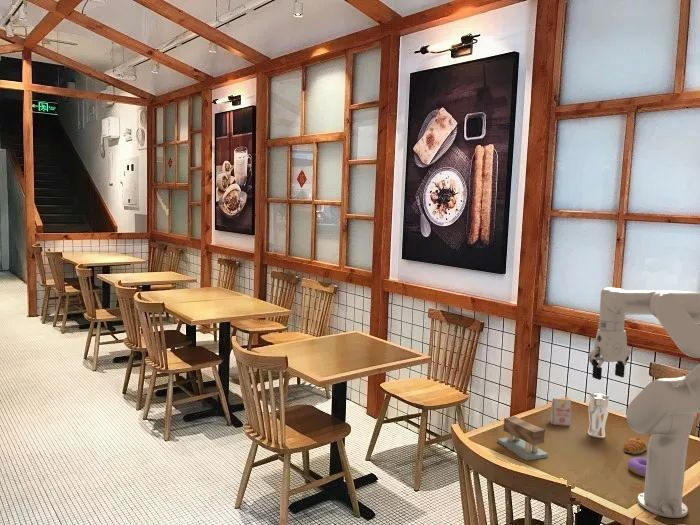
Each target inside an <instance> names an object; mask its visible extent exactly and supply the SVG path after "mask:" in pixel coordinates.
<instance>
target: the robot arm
mask: <svg viewBox="0 0 700 525" xmlns="http://www.w3.org/2000/svg"><path fill="white" fill-rule="evenodd" d="M628 315H629V316H631V315H635V316H637V315H642V316H643V315H644V316H645V315H646V316H648V315H649V316H650V315H651V316H654V317H655V318H656V319H657V320H658V322H659V323H660V324H661V327H662V328H663V329H664V331H665V332H666V333H667V334H668V336H669V337H670V339H671V340H672V341H673V343H674V344H675V345H676V347H677V348H678V349H679V350H680V351H681V352H682V353H683V354H685V356H688V357H691V358H694V359H700V292H699V291H687V290H686V291H685V290H684V291H683V290H665V289H664V290H625V289H622V288H619V287H604V288H602V289H601V291H600V302H599V319H598V323H597V326H598V329H597V331H596V334H595V335H596V336H595V340H594V346H593V347H594V349H592V350H591V351H590V352H588V353H587V357H588V361H589V362H590V364H591V367H592V378H593V379H594V380H595V379H596V380H599V381H601V380H602V375H603V374H602V372H603V367H601V366H602V365H603V364H604V362H605V363H613V362H614V363H615V362H616V363H615V368H614V369H615V370H614V375H615V376H616V377H619V378H625V370H626V369H625V368H626V366H627V364H628V363H627V362H629V360H630V356H631V354H632V351H631V350H629V349H628V338H627V337H628V336H627V331H626V330H625V322H626V321H625V318H626V316H628ZM699 413H700V363H699V364H697V365H696V366H695V367H694V368H693V369H692V370H691V371H690V372H689V373H688V374H686V375H684V376H679V377H666V378H664V377H663V378H657V379H655V380H652V381H651V382H649V383H648V384H647V385H646V386H645V387H644V388H643V389H642V390H641V391H640V392H639V393H638V394H637V395H635V397H634V398H633V399H632V400H631V401H630V403H629V405H628V407H627V408H626V415H625V418H626V422H627V424H628V427H629V428H630V429H631V430H632V431H633V432H635V433H637V434H639V435H644V436H645V435H648V436H649V435H651V436H650V437H649V441H648V444H647V455H646V458H647V464H646V476H645V477H644V490H643V492H641V493H639V494H638V495H637V498H636V499H637V500H636V501H637V503H638V504H640V505H641V506H643V507H644V508H646V509H647V510H649V511H650V513H651V512H652V514H654V515H657V516H660V517H665V518H671V519H678V518H679V519H680V518H684V517H686V516H687V515H688V510H689V509H688V506H687V505H686V504H685V503H684V502H683V494H684V493H683V492H684V482H685V470H686V460H687V451H688V443H689V439H690V435H691V432H692V429H693V426H694V422H695V415H694V414H699ZM640 505H639V506H640ZM641 506H640V507H641ZM643 507H642V508H643ZM644 508H643V509H644ZM647 510H646V511H647ZM649 511H648V512H649Z"/></svg>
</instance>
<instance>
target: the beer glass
mask: <svg viewBox="0 0 700 525" xmlns="http://www.w3.org/2000/svg"><path fill="white" fill-rule="evenodd" d="M609 400H610V398H609V396H608V395H606V394H603V393H595V392H594V393H590V394H589V399H588V418H589V427H588V430H587V435H588V436H591V437H593V438H599V439H604V438H605V437H606V431H605V430H606V428H605V427H606V422H607V419H608V415H609V410H610V401H609Z"/></svg>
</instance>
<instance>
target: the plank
mask: <svg viewBox="0 0 700 525" xmlns="http://www.w3.org/2000/svg"><path fill="white" fill-rule="evenodd" d="M502 430H503V432H506V433H507V434H508V433H509V434H512V435H514V436H516V437H518V438H520V439H522V440H524V441H526V442H528V443H530V444H532V445H537V444H538V445H540V444H543V443H544V442H545V429H543V428H541V427H539V426H537V425H534V424H533V423H531V422H528V421H526V420H523V419H521V418H520V417H518V416H515V415H514V416H509V417H508V416H507V417H504V419H503V429H502ZM514 436H513V437H514Z"/></svg>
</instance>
